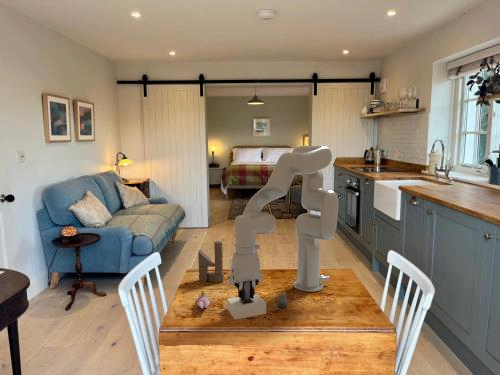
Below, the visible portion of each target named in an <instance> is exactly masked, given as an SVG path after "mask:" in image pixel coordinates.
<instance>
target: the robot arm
mask: <svg viewBox="0 0 500 375" xmlns="http://www.w3.org/2000/svg"><path fill="white" fill-rule="evenodd" d="M332 153H333V152H332V150H331V149H330V148H329V147H328V146H325V145H300V146H299V145H298V146H297V147H295V148H294V149H293V152H292V151H291V152H284V153H282V154H281V155H280V156H279V157H278V159H277V162H276V164H275V165H274V168H273V171H272V172H271V174H270V177H269V178H268V181H267V182H266V184H265V185H264V186H263V187H262V188H260V189H259V190H258V191H257V192H256V193H255V194H253V196H251V197H250V199H249V200H248V201H247V204H246V206H245V208H244V210H243V212H242V214H241V215H237V216H236V217H235V219H234V239H235V240H234V241H235V242H234V243H235V244H234V248H235V250H234V252H233V254H232V257H231V268H230V269H231V270H230V278H229V279H228V283H229V284H230V285H231V286H235V288H236V289H237V297H239V298H240V299H241V300H242V301H243V300H244V290H243V288H242V287H243V282H244V281H251V299H254V295H255V294H256V293H255V291H256V290H255V288H256V287H257V285H258V284H259V282H261V281H262V280H264V276H263V273H261V263H260V257H259V253H258V250H259V249H260V247H261V246H260V244H257V235H268V234H271V233H273V232H274V231H275V229H276V228H277V226H278V225H277V223H278V222H277V219H276V217H275V215H273V214H270V213H268V212H263V211H262V210H263V208H264V207H265V206H266V205H268V203H271V202H272V201H275V200H277V199H279V198H282V197H284V196H286V195H287V194H288V192H289V189H290V188H291V185H292V183H293V180H294V178H295V176H297V175H299V176H302V185H301V186H302V188H301V201H300V203H301V207H302V208H303V209H304V210H306V211H307V210H308V211H312V212H317V213H320V215H319V214H314V213H309V212H308V213H307V212H306V213H301V214H300V215H298V216H297V218H296V220H295V224H294V226H295V228H294V229H295V232H296V238H297V266H296V267H297V270H296V271H297V275H296V276H297V279H296V280H295V281H294V282H293V287H294V289H296V290H299V291H301V292H309V293H311V292H312V293H314V292H319V291H321V290H323V288H324V282H325V281H327V282H328V281H330V280H331V277H330V275H325V276H324V274H321V244H320V240H322V241H330V240H331V239H333V238H334V236H335V234H336V231H337V226H338V217H339V216H338V214H339V205H340V204H339V203H340V202H339V198H338V194H337V193H336V192H335V191H333V190H331V189H325V188H324V173H323V171H322V170H323V169H325V168H327V167H328V166H330V164H331V162H332V159H333V154H332Z"/></svg>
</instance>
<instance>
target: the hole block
mask: <svg viewBox="0 0 500 375" xmlns="http://www.w3.org/2000/svg"><path fill="white" fill-rule="evenodd" d="M226 309H227V311H228V312H229V314H230V315H231V316H232V318H233V319H234V320H240V319H244V318H251V317H256V316H261V315H266V314H267V302H266V301H264V299H263V298H262V297H261V296H260V295H259V294H258V293H255V295H254V299H251V303H248V304H242V300H241V299H240V298H239V297H238V296H237V297H231V298H230V297H229V298H226Z"/></svg>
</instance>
